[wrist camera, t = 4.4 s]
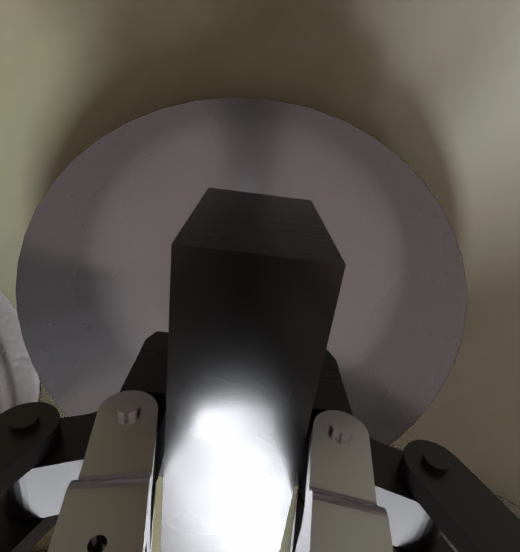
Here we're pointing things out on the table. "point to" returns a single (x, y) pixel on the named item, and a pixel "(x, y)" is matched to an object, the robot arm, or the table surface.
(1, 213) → the table surface
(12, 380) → the grey oval domed piece
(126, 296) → the lid
